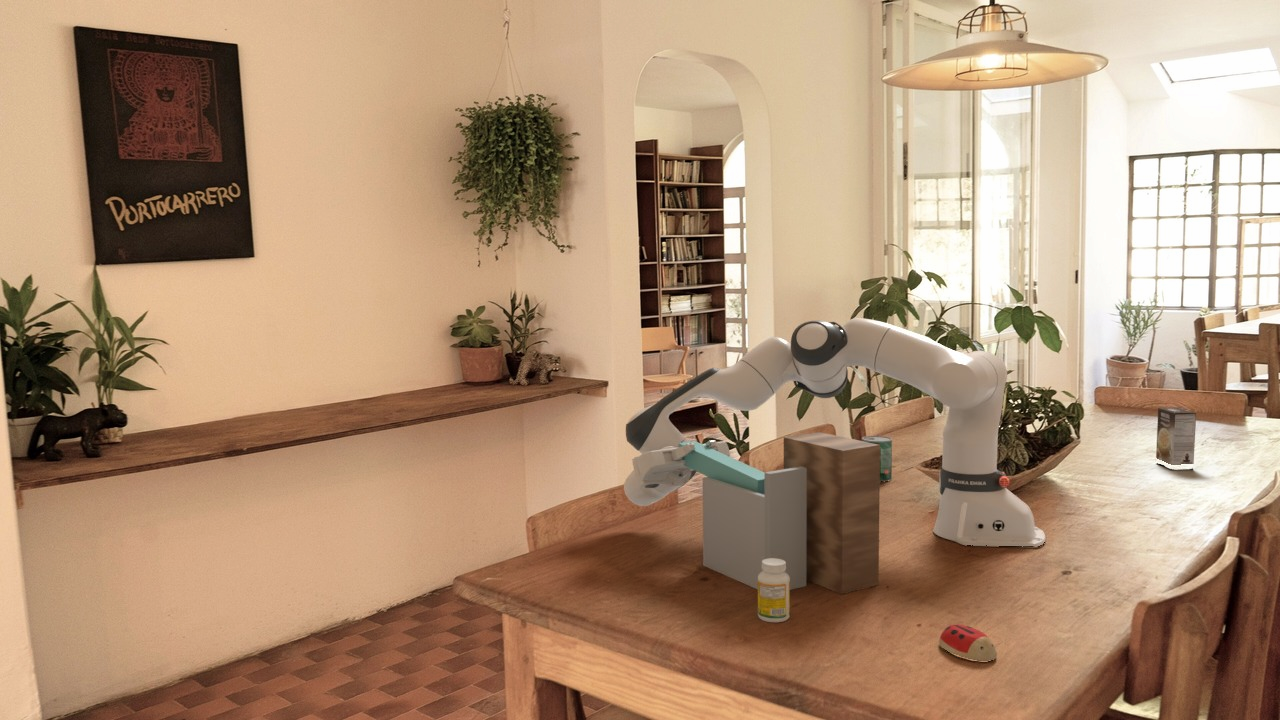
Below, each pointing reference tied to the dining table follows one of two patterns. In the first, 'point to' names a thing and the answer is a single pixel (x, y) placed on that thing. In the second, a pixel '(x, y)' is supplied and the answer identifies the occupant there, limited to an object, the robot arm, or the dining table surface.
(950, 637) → the ladybug figurine
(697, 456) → the teal square bar
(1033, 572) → the dining table surface
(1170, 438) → the coffee box
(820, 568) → the stand
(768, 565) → the supplement bottle
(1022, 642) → the dining table surface
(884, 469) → the canned tomato
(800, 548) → the grey boxy piece
